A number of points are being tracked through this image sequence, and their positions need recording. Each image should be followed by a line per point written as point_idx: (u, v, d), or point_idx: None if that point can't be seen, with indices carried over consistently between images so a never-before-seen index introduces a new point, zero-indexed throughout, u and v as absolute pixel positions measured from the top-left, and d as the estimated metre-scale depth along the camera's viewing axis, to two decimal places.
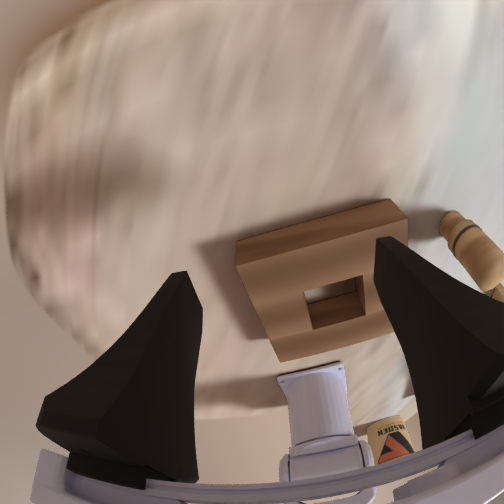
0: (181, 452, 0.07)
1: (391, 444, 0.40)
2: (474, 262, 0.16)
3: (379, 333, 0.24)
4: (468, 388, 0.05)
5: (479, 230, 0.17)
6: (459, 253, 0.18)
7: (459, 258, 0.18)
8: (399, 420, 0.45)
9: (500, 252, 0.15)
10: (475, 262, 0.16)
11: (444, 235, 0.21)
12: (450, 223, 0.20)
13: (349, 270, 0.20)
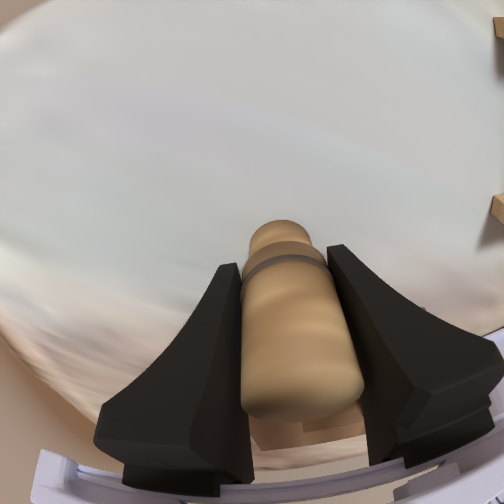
0: (243, 452, 0.07)
1: None
2: None
3: None
4: (395, 415, 0.05)
5: (242, 305, 0.09)
6: None
7: None
8: None
9: (242, 383, 0.07)
10: None
11: None
12: None
13: None
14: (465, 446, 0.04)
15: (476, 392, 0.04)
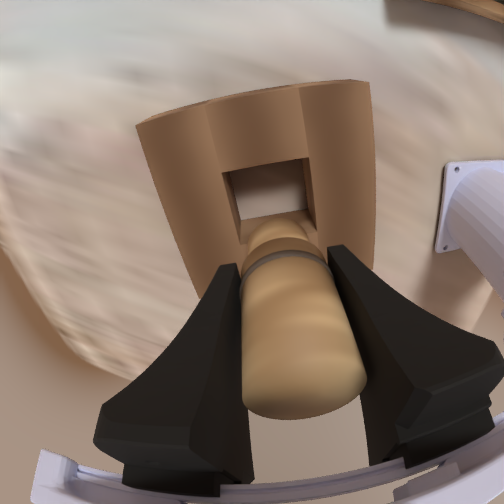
0: (243, 452, 0.07)
1: None
2: None
3: (363, 128, 0.14)
4: (396, 415, 0.05)
5: (241, 302, 0.09)
6: None
7: None
8: None
9: (243, 378, 0.07)
10: None
11: None
12: None
13: (211, 191, 0.16)
14: (465, 446, 0.04)
15: (476, 392, 0.04)
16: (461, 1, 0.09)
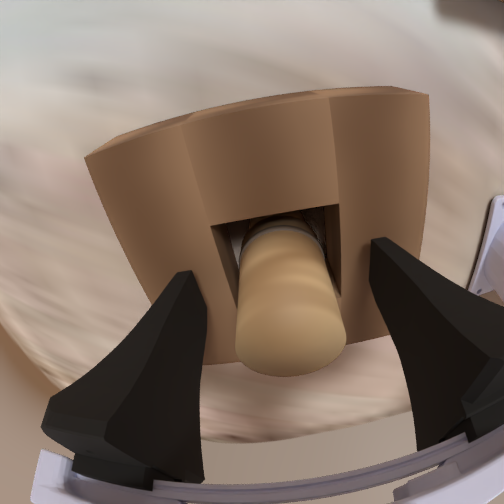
0: (187, 452, 0.07)
1: None
2: None
3: (417, 162, 0.09)
4: (461, 391, 0.05)
5: (240, 270, 0.11)
6: None
7: None
8: None
9: (237, 330, 0.08)
10: None
11: None
12: None
13: (197, 251, 0.11)
14: None
15: None
16: None
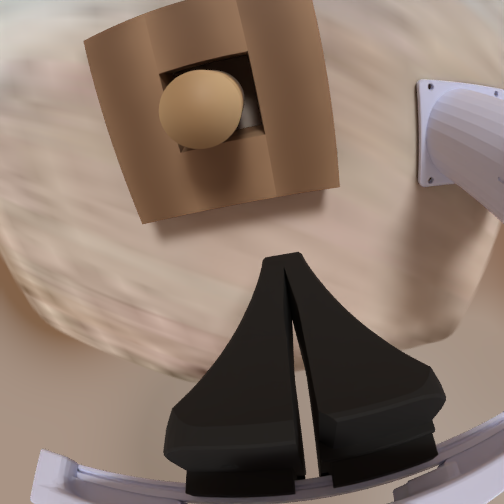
0: (302, 446, 0.07)
1: None
2: None
3: (306, 22, 0.11)
4: None
5: None
6: None
7: None
8: None
9: None
10: None
11: None
12: None
13: (149, 94, 0.13)
14: (404, 471, 0.04)
15: (408, 419, 0.04)
16: None
